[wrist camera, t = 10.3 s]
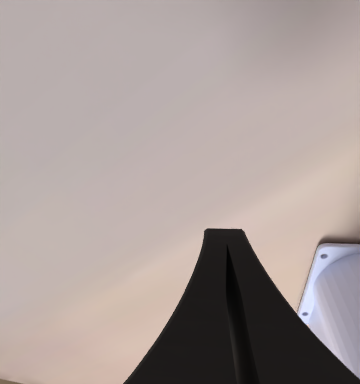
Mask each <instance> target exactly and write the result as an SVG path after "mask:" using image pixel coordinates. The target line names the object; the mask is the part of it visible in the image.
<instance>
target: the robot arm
mask: <svg viewBox="0 0 360 384" xmlns="http://www.w3.org/2000/svg"><path fill="white" fill-rule="evenodd" d="M322 254H324V255H322ZM306 324H309V327H310V328H309V327H308V326H307V325H306ZM123 384H360V244H334V243H324V244H321V245H319V246H318V248H317V251H316V254H315V257H314V260H313V264H312V267H311V270H310V273H309V277H308V280H307V283H306V286H305V290H304V293H303V296H302V300H301V303H300V306H299V309H298V313H296V312H295V311H294V310H293V308H292V307H291V306H290V305H289V303H288V302H287V301H286V299H285V298H284V297H283V295H282V294H281V293H280V291H279V290H278V289H277V287H276V286H275V284H274V283H273V281H272V280H271V278H270V277H269V275H268V274H267V272H266V271H265V269H264V267H263V266H262V264H261V263H260V261H259V259H258V258H257V256H256V254H255V252H254V251H253V249H252V247H251V245H250V243H249V241H248V239H247V237H246V235H245V232H244V231H243V230H242V229H210V228H207V229H206V230H205V231H204V239H203V244H202V248H201V252H200V255H199V258H198V261H197V263H196V266H195V269H194V272H193V274H192V276H191V278H190V281H189V283H188V285H187V287H186V289H185V292H184V294H183V296H182V298H181V300H180V301H179V303H178V305H177V307H176V309H175V311H174V312H173V314H172V316H171V318H170V319H169V321H168V322H167V324H166V326H165V327H164V329H163V330H162V332H161V334H160V335H159V337H158V338H157V340H156V341H155V343H154V344H153V345H152V347H151V348H150V350H149V351H148V352H147V354H146V355H145V356H144V358H143V359H142V361H141V362H140V363H139V365H138V366H137V367H136V369H135V370H134V371H133V372H132V374H131V375H130V376H129V377H128V379H127V380H126V381H125V382H124V383H123Z"/></svg>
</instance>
